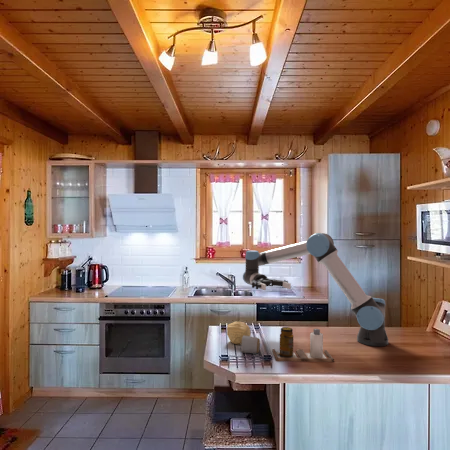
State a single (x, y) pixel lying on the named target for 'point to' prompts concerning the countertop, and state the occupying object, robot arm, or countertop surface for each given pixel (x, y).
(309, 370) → the countertop surface
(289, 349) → the condiment
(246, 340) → the ceramic mug
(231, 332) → the sculpture
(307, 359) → the walnut tray
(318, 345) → the white bottle
